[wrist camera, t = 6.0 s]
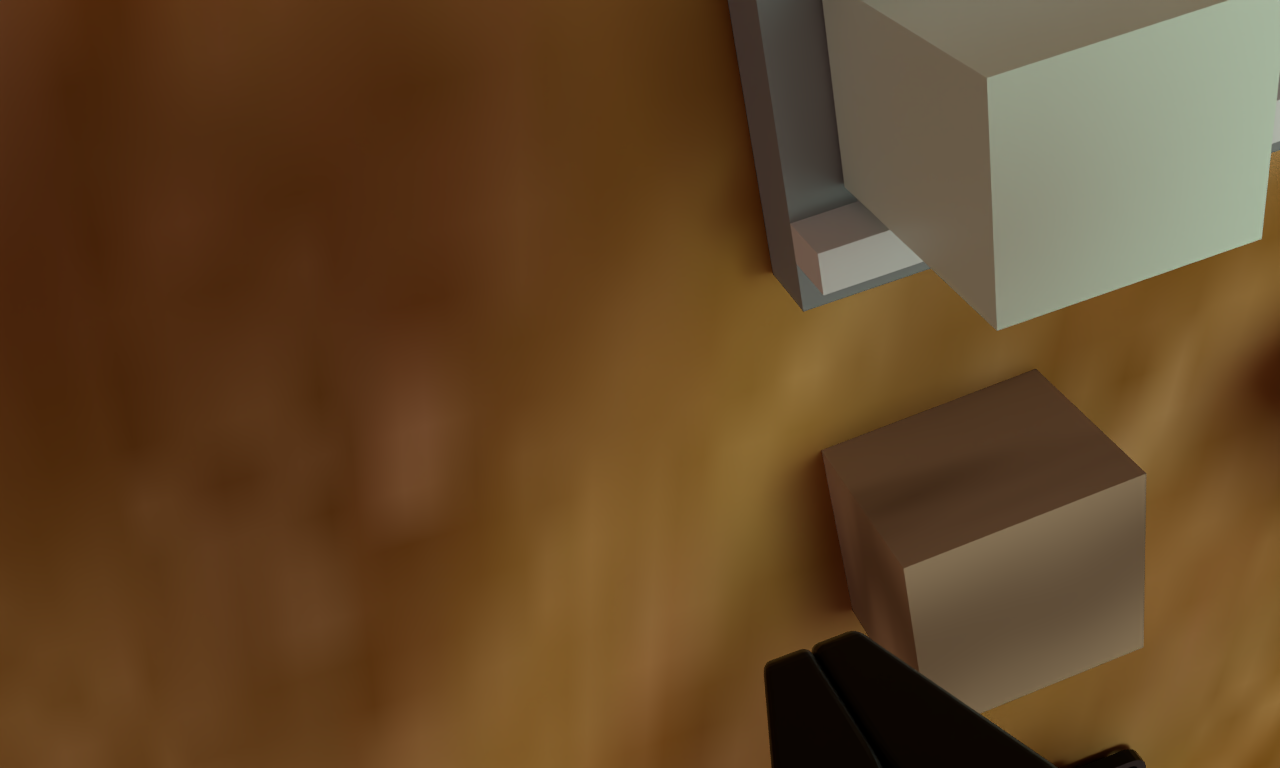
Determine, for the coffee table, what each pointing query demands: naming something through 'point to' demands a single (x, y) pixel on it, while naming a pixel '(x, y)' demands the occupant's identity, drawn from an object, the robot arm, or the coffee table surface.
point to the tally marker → (1056, 137)
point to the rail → (812, 159)
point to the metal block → (993, 540)
